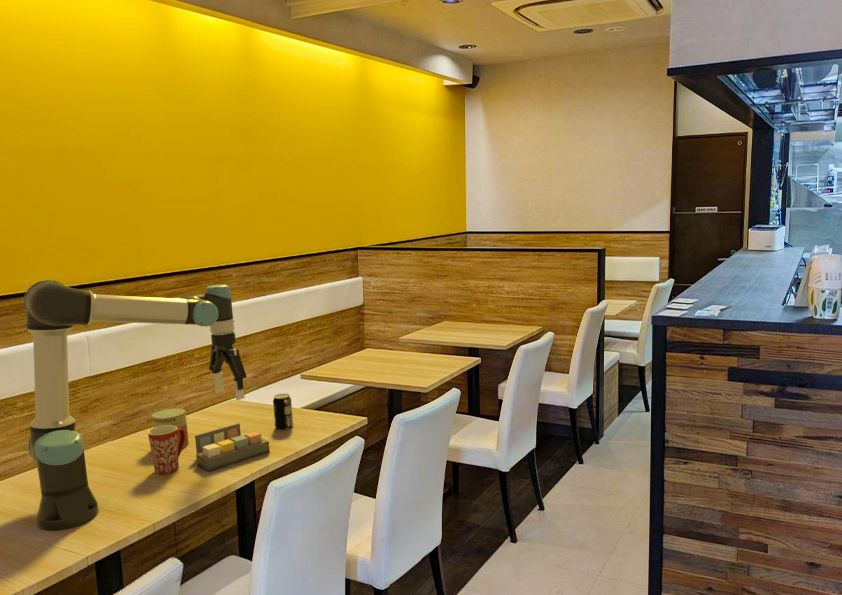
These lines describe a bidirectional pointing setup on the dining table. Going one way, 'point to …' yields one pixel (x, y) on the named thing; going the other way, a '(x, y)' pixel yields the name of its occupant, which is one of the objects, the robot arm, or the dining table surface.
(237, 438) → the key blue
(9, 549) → the dining table surface
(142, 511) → the dining table surface
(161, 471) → the mug
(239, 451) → the frame
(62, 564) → the dining table surface
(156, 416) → the canned food
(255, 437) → the key terracotta
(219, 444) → the key mustard
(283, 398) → the beverage can
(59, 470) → the robot arm
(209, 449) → the key ivory
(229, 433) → the placard
